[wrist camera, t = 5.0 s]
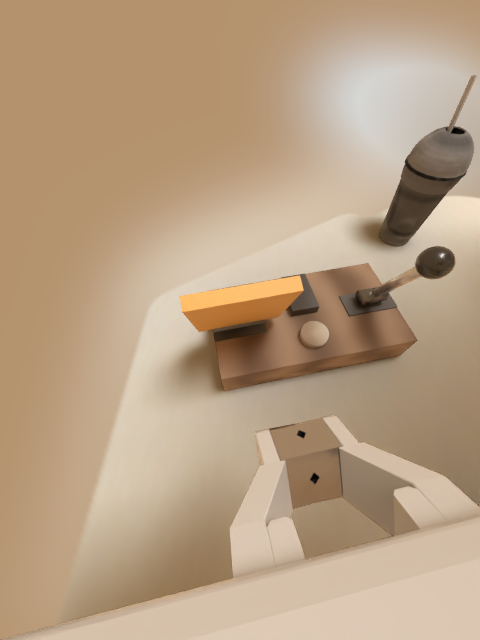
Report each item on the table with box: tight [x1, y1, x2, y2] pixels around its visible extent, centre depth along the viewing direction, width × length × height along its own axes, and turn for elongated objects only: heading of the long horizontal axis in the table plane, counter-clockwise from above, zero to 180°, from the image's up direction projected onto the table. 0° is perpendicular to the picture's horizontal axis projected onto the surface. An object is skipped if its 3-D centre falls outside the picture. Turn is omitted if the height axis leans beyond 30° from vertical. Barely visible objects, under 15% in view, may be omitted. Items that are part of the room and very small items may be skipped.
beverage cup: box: [380, 75, 476, 246], centre depth 35 cm, size 7×7×20 cm
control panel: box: [211, 263, 417, 391], centre depth 32 cm, size 22×12×5 cm, turn 101°
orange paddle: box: [180, 275, 304, 333], centre depth 24 cm, size 9×2×11 cm, turn 101°
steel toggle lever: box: [355, 246, 455, 305], centre depth 25 cm, size 3×3×12 cm
